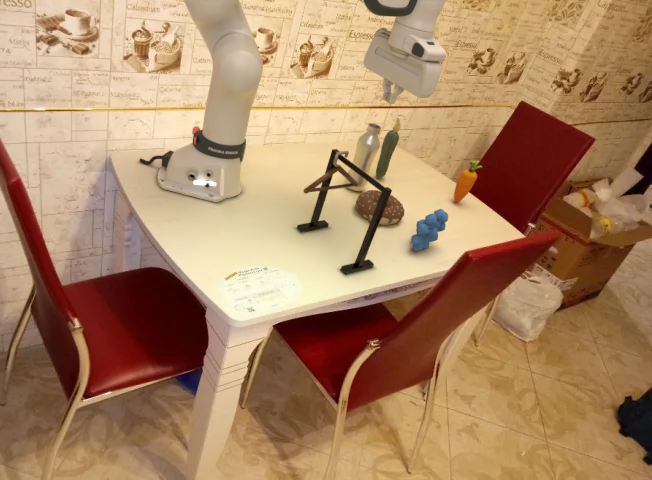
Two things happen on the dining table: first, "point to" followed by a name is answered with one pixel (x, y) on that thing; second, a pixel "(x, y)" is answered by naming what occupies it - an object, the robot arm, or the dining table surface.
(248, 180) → the dining table surface
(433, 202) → the dining table surface
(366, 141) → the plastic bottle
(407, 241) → the dining table surface
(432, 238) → the grapes
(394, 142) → the vegetable
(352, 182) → the hanger
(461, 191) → the carrot
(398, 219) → the donut
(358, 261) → the rail
